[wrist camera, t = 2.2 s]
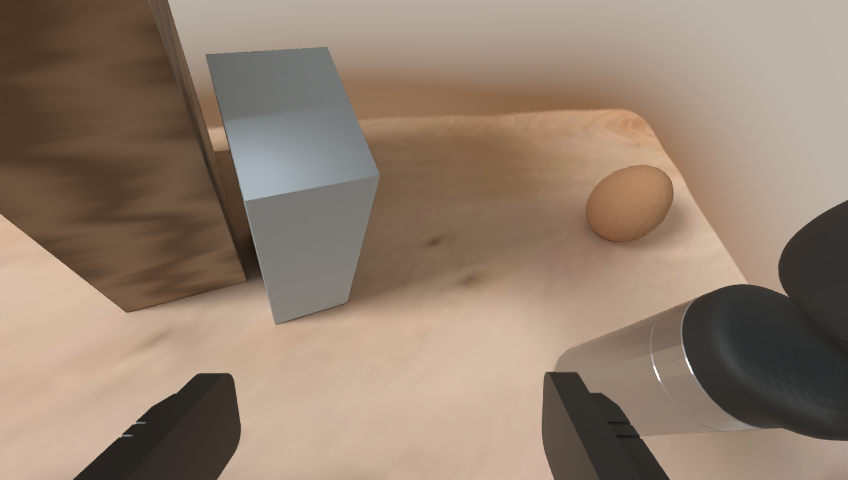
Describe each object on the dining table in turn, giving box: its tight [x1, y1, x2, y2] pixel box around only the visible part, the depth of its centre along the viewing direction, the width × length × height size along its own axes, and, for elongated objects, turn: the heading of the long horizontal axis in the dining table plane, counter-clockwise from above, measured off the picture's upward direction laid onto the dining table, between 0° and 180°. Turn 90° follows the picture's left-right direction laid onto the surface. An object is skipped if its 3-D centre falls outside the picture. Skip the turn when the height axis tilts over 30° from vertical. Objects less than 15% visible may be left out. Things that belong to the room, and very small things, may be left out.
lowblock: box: [206, 47, 380, 325], centre depth 32 cm, size 7×10×22 cm
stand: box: [0, 0, 246, 312], centre depth 27 cm, size 10×16×32 cm, turn 23°
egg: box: [586, 165, 674, 242], centre depth 50 cm, size 8×8×11 cm
